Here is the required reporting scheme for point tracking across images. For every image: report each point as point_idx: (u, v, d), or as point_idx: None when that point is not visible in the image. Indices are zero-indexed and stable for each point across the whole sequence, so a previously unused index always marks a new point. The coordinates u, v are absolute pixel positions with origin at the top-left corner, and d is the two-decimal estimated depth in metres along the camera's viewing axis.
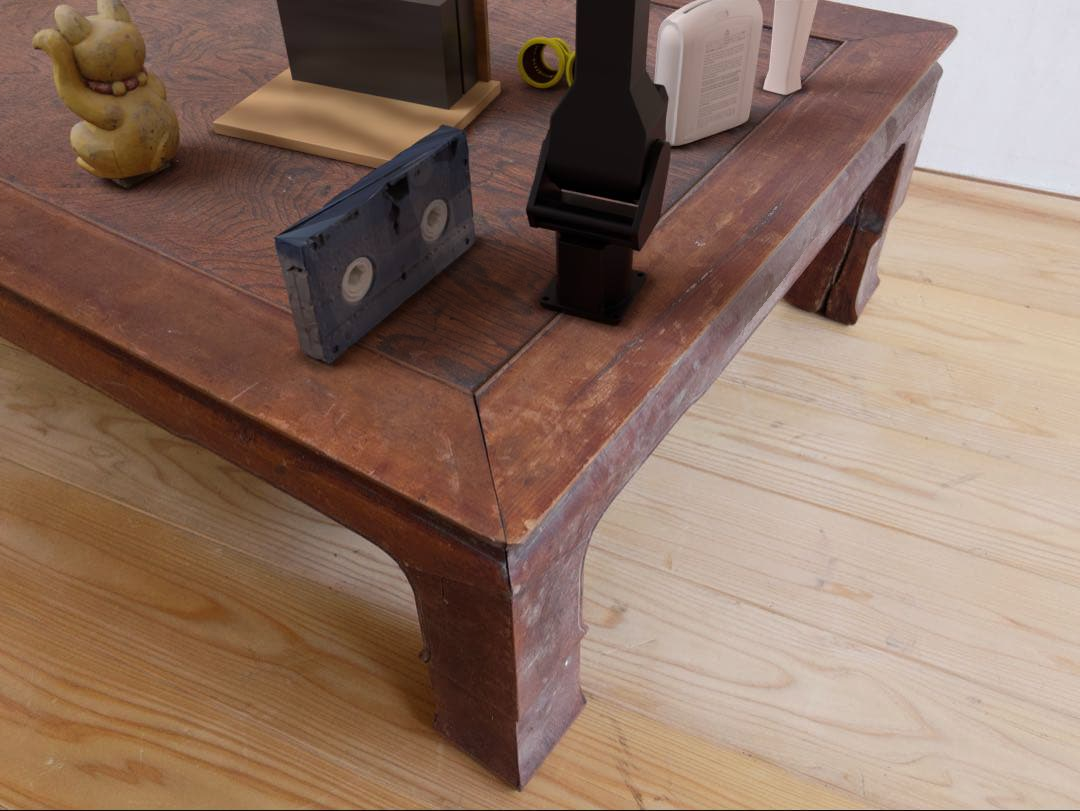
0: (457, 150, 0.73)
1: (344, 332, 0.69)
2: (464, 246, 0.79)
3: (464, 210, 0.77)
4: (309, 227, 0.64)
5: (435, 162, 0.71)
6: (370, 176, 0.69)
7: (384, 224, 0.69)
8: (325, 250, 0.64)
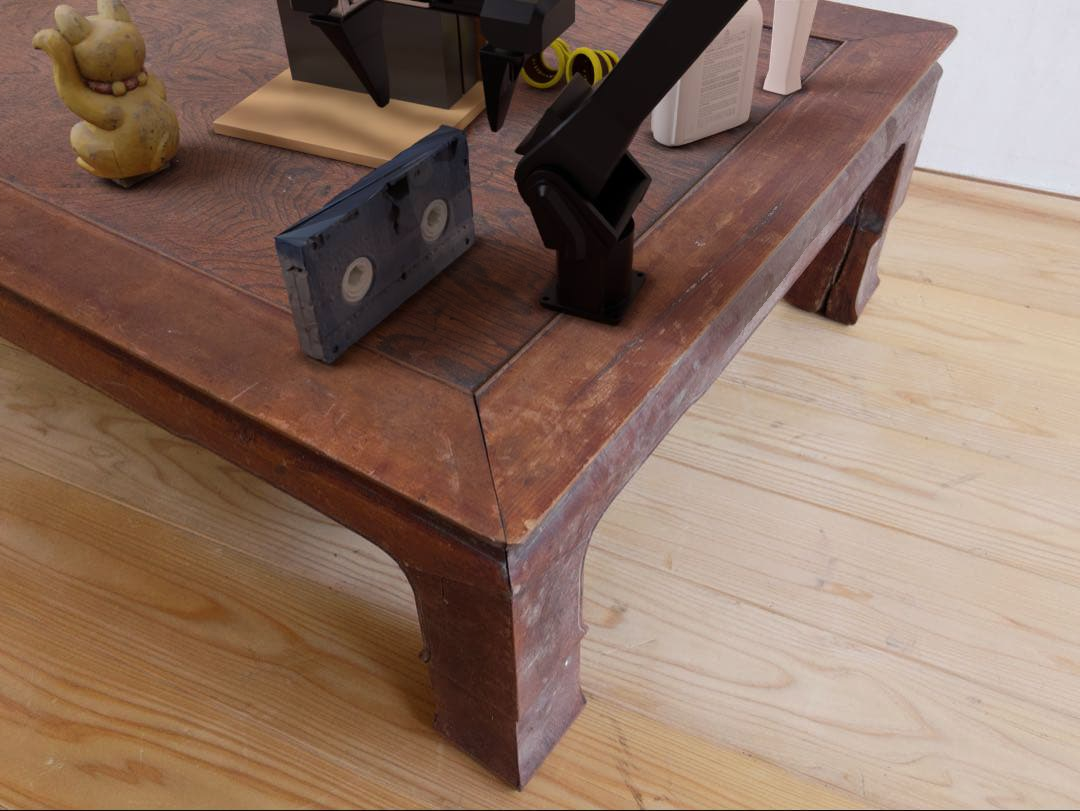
0: (457, 150, 0.73)
1: (344, 332, 0.69)
2: (464, 246, 0.79)
3: (464, 210, 0.77)
4: (309, 227, 0.64)
5: (435, 162, 0.71)
6: (370, 176, 0.69)
7: (384, 224, 0.69)
8: (325, 250, 0.64)
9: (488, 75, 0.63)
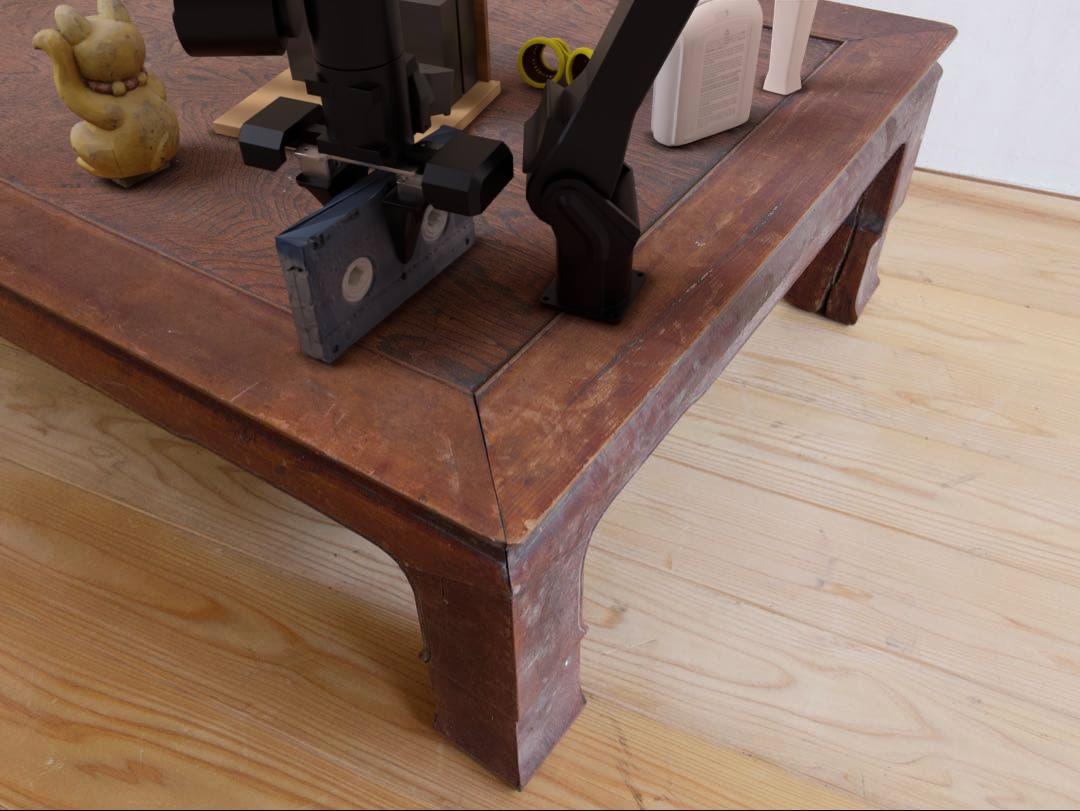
0: None
1: (344, 332, 0.69)
2: (464, 246, 0.79)
3: None
4: (309, 227, 0.64)
5: None
6: (370, 176, 0.69)
7: (385, 224, 0.69)
8: (325, 250, 0.64)
9: (392, 220, 0.67)
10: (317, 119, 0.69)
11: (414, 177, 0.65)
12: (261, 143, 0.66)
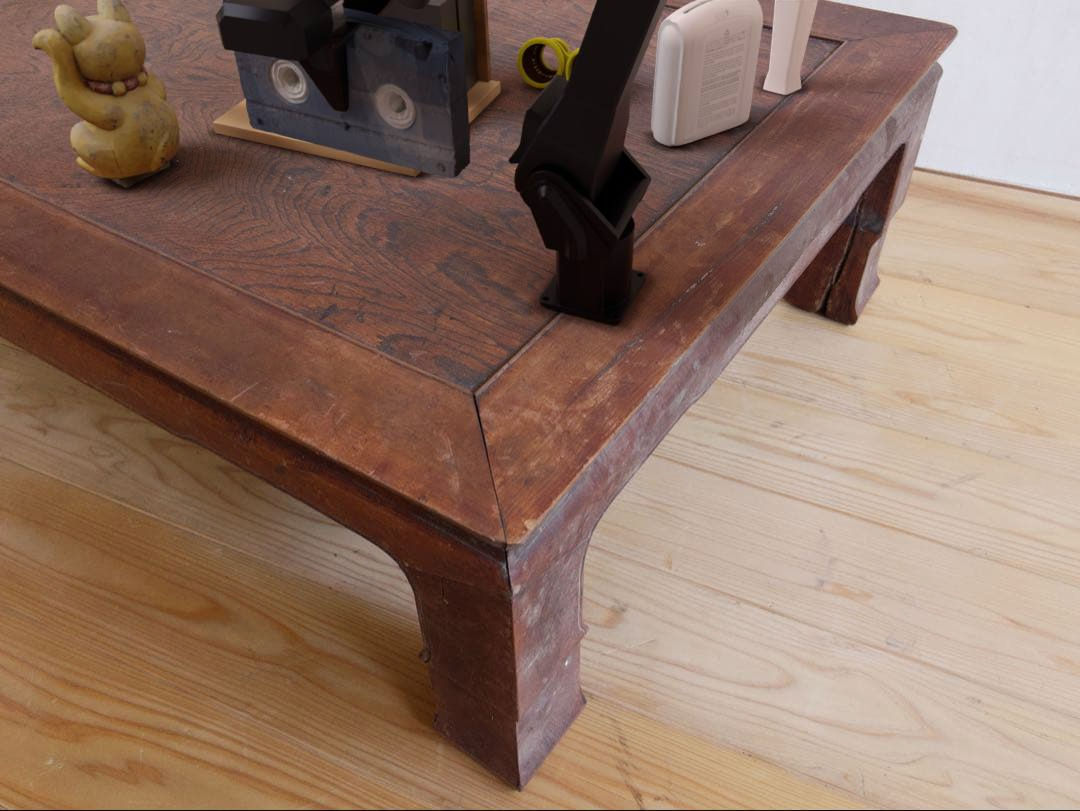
0: (430, 56, 0.64)
1: (270, 115, 0.74)
2: (437, 169, 0.70)
3: (439, 130, 0.68)
4: None
5: (396, 44, 0.65)
6: (347, 10, 0.67)
7: None
8: None
9: None
10: None
11: None
12: None
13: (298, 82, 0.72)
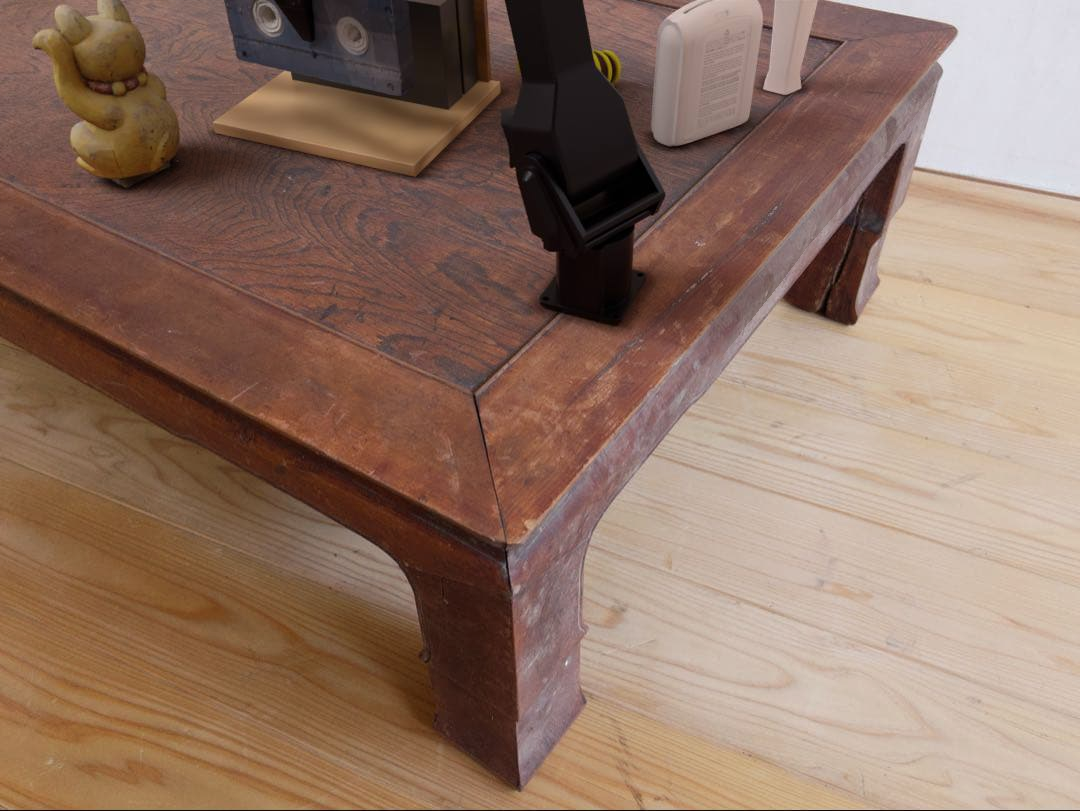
0: None
1: (253, 48, 0.90)
2: (387, 89, 0.86)
3: (387, 55, 0.83)
4: None
5: None
6: None
7: None
8: None
9: None
10: None
11: None
12: None
13: (275, 19, 0.88)
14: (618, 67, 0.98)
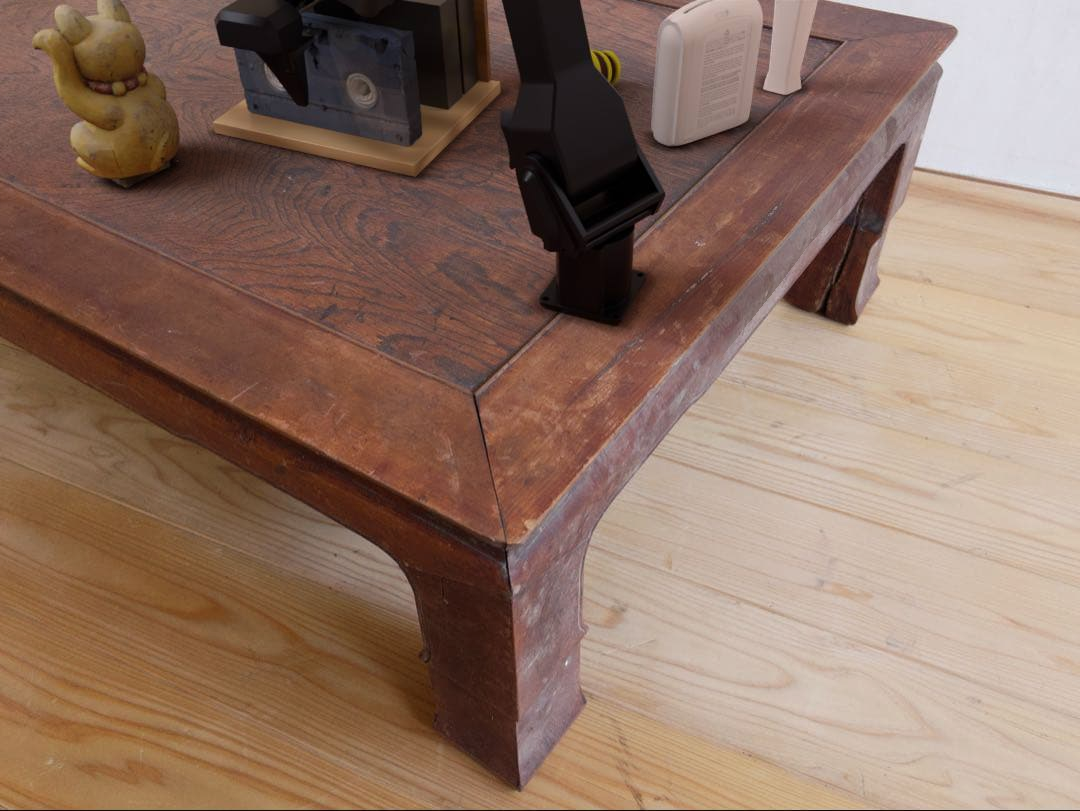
0: (387, 50, 0.84)
1: (264, 101, 0.93)
2: (396, 140, 0.89)
3: (396, 108, 0.87)
4: None
5: (360, 41, 0.84)
6: (323, 16, 0.86)
7: None
8: None
9: None
10: None
11: None
12: None
13: None
14: (618, 67, 0.98)
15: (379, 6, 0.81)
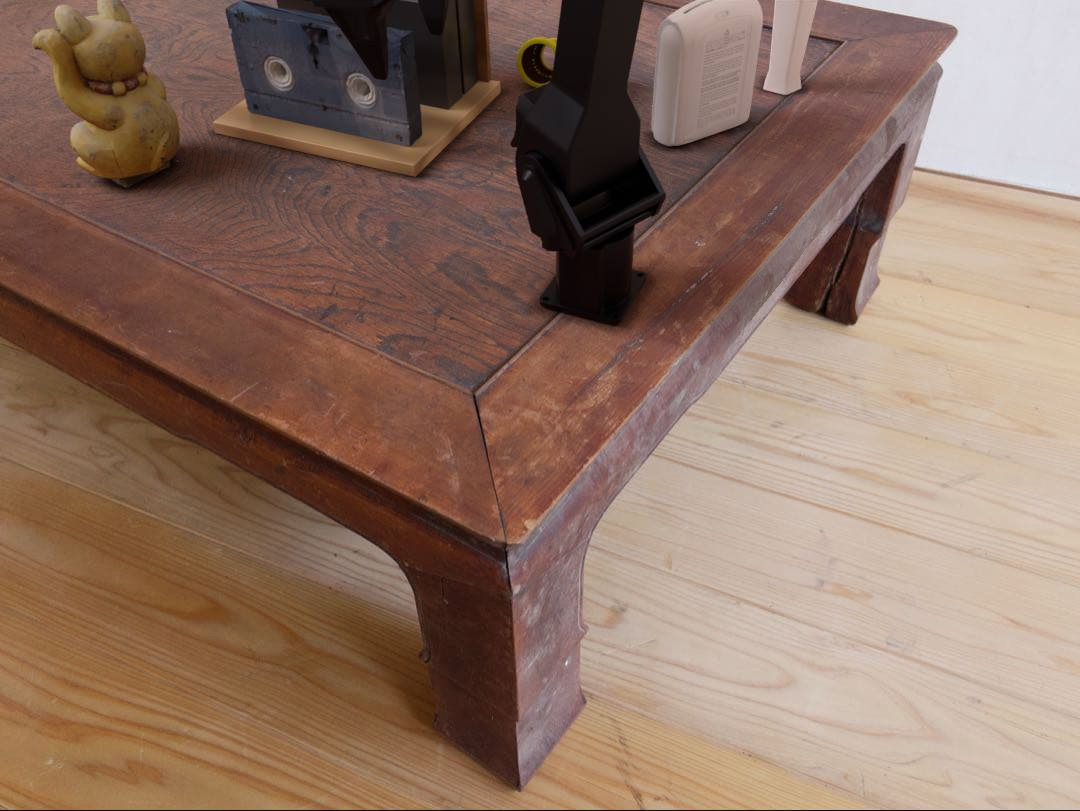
0: None
1: (264, 101, 0.93)
2: (396, 139, 0.89)
3: (396, 108, 0.87)
4: (251, 8, 0.88)
5: None
6: (323, 16, 0.86)
7: (303, 51, 0.87)
8: (246, 27, 0.88)
9: None
10: None
11: None
12: None
13: (285, 74, 0.91)
14: None
15: None
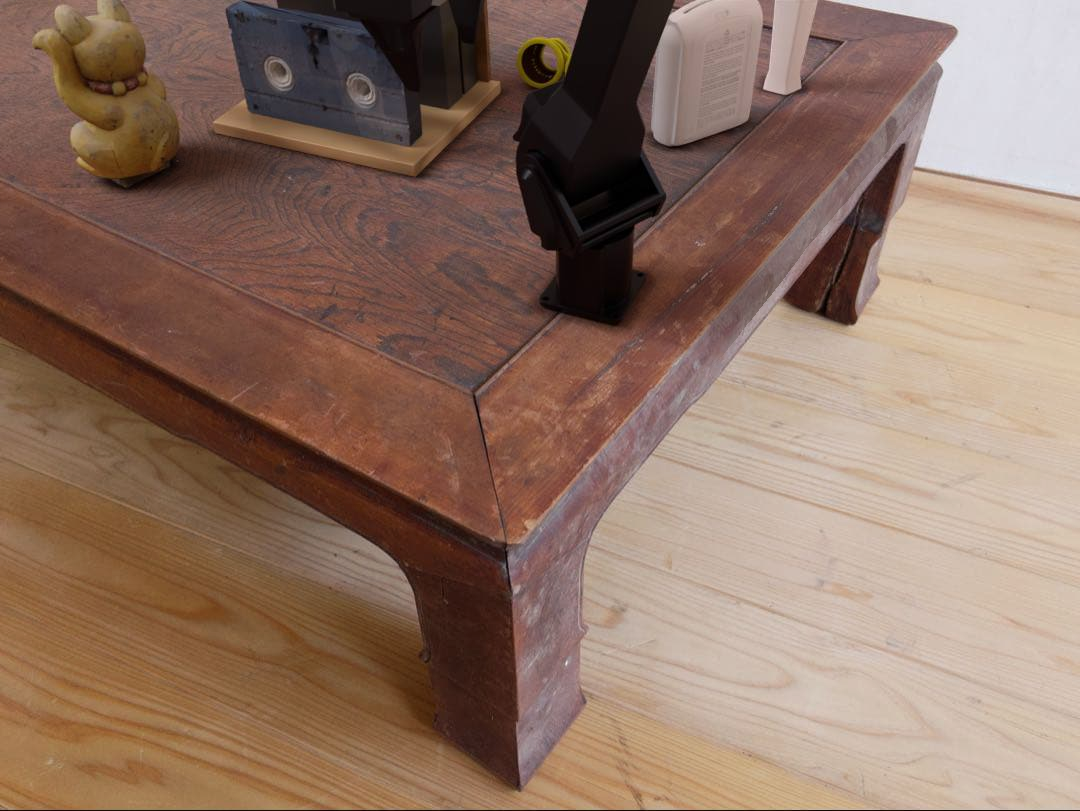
0: None
1: (264, 101, 0.93)
2: (396, 139, 0.89)
3: (396, 108, 0.87)
4: (251, 8, 0.88)
5: (360, 41, 0.84)
6: (323, 16, 0.86)
7: (303, 51, 0.87)
8: (246, 27, 0.88)
9: None
10: None
11: None
12: None
13: (285, 74, 0.91)
14: None
15: None
